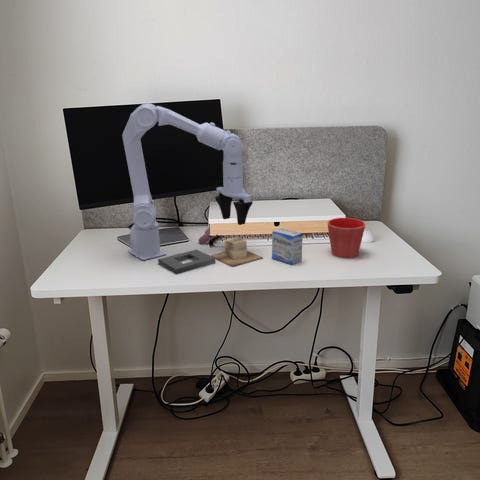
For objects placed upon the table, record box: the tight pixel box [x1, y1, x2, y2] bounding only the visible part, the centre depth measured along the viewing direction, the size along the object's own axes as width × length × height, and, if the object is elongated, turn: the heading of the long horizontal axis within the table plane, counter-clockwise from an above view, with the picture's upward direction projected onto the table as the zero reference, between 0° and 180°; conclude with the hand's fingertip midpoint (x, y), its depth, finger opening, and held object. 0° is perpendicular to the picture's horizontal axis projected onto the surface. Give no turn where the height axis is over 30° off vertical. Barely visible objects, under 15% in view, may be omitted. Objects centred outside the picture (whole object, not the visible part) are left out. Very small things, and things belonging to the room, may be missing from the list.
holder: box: [157, 249, 217, 275], centre depth 146 cm, size 10×13×2 cm
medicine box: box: [271, 228, 304, 266], centre depth 146 cm, size 8×4×9 cm, turn 47°
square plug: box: [224, 236, 248, 260], centre depth 149 cm, size 4×4×5 cm
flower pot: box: [327, 217, 366, 259], centre depth 150 cm, size 11×11×10 cm
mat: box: [210, 250, 264, 268], centre depth 150 cm, size 11×11×1 cm
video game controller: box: [198, 227, 217, 245], centre depth 165 cm, size 10×5×7 cm, turn 170°
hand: (233, 221), depth 153 cm, fingers open, 7 cm apart
